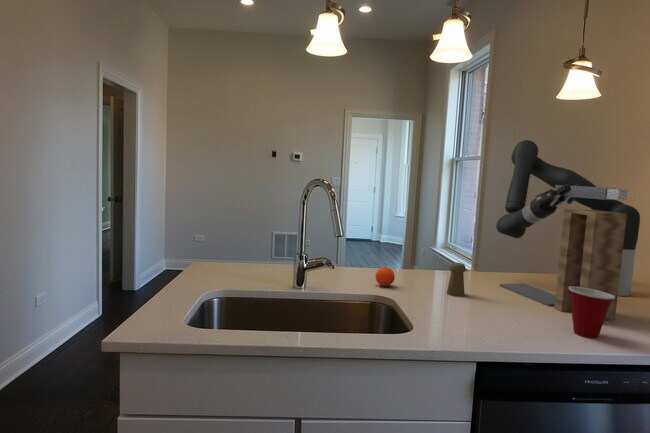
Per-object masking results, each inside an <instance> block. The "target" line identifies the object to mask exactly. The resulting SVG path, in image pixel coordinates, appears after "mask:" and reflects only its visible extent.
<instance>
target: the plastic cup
mask: <svg viewBox="0 0 650 433" xmlns="http://www.w3.org/2000/svg"><path fill="white" fill-rule="evenodd" d="M569 290H570V296H571V306H572V311H571V317H572V318H571V320H572V326H573V332H574V334H575V335H577V336H580V337H584V338H589V339H595V338H599V336H600V333H601V331H602V330H601V329H602V328H603V327H602V326H604V322H605V321H606V320H605V317H606V314H607V311H608V308H609V306H610V304H611V302H612V300H613V299H615V296H613V295H611V294H608V293H605V292H602V291H598V290H594V289H589V288H583V287H574V286H571V287H569Z"/></svg>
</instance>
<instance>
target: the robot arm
mask: <svg viewBox="0 0 650 433" xmlns="http://www.w3.org/2000/svg"><path fill="white" fill-rule="evenodd" d="M538 155H539V148H538V145H537V144H536V143H535V142H534V141H532V140H528V139H525V140H521V141H520V142H518V143H516V145H515V147H514V148H513V151H512V154H511V162H512V164H513V165H514V169H513V173H512V177H511V182H510V184H509V187H508V190H507V191H508V192H507V195H506V201H505V206H504V207H505V212H507V213H508V214H505V215H503V216H501V217H500V218H498V220H497V222H496V225H495V226H496V230H497V232H499V233H500V234H501V235H506V236H508V237H510V238H515V239H521V238H522V237H523V236H524V235H525V233H526V231H527V228H530V227H532V226H533V225H535V224H536V223H538V222H539V223H540V222H541V221H543V220H544V219H546V218H548V217H549V216H551V215H553V214H554V213H555V212H556V211H557V208H558V207H559V206H561V205H563V204H564V203H566V204H567V205H570V204H572V203H573V202H576V203H578V204H580V205H582V206H584V207H587V208H589V209H590V210H599V211H608V212H617V213H626V214H627V218H626V227H625V235H624V244H623V253H622V262H621V271H620V279H619V288H618V297H629V296H631V292H632V285H633V284H632V283H633V277H634V269H635V268H634V267H635V266H634V265H635V258H636V249H637V243H638V239H639V232H640V224H641V215H640V212H639V211H638V209H637V208H635V207H633V206H632V205H629V204H626V203H624V202H622V201H621V200H603V199H591V198H578V197H566V196H561V195H562V194H564V193H566V192H567V191H569V190H570V188H569V186H586V187H597V185H595V184H594V183H592V182H591V181H590V180H588V179H587V178H585V177H583V176H582V175H580V174H578V173H577V172H576V171H573V170H571V169H568V168H565V167H560V166H557V165H554V164H550V163H548V162H546V161H545V160H544V159H542V158H540V157H539V156H538ZM531 175H532V176H534V177H536V178H537V179H539V180H540V181H542V182H543V183H545V184H547V185H549V187H552V189H547V190H546V191H544V192H541V193H539V194H537V195H535V198H533V199H532V200H531V201H530V202H528V203H526V202H527V198H528V197H527V196H528V189H529V183H530V178H531ZM555 185H563V186H562V187H560V188H559V189H555Z"/></svg>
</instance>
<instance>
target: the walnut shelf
mask: <svg viewBox="0 0 650 433" xmlns="http://www.w3.org/2000/svg"><path fill="white" fill-rule="evenodd" d="M626 218H627V214H626V213H617V212H608V211H599V210H593V209H578V208H577V209H575V208H564V210H563V219H562V227H561V228H562V230H561V239H560V248H559V259H558V268H557V279H556V287H555V288H556V289H555V295H556V297H555V306H553V307H554V310H556V311H559V312H572V306H571V296H570V290H569V287H571V286H574V287H583V288H589V289H594V290H598V291H602V292H605V293H608V294H611V295H613V296H615V299H613V300H612V302H611V304H610V306H609V308H608V311H607V314H606V317H605V320H604V321H615V320H616V314H617V313H616V312H617V306H618V305H617V304H618V297H619V296H618V288H619V279H620V271H621V262H622V253H623V244H624V235H625V227H626Z"/></svg>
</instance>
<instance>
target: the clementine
mask: <svg viewBox="0 0 650 433" xmlns="http://www.w3.org/2000/svg"><path fill="white" fill-rule="evenodd" d="M393 270H394V268H393V267H389V266H382V267H380V268H378V269H377V271H376V273H375V279H376V280H375V281H376V282H377V284H379V285H380V286H383V287H389V286H391V285H392V284H393V283H394V281H395V279H396V278H395V277H396V276H395V273H396V275H397V272H395V271H393Z"/></svg>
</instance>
